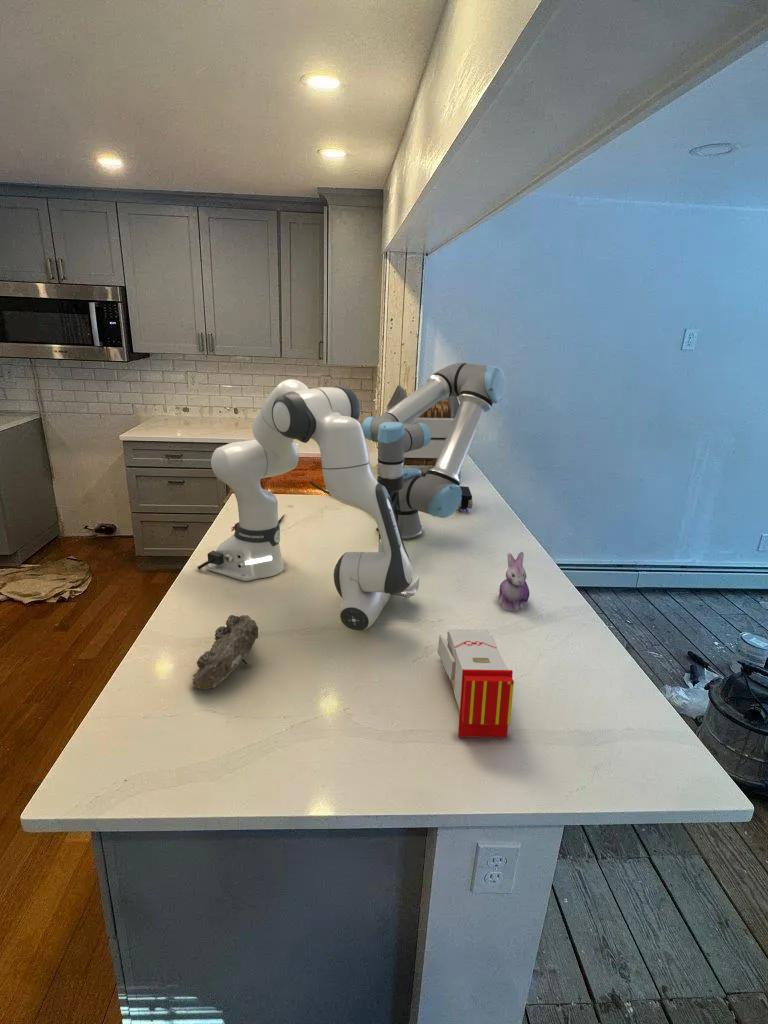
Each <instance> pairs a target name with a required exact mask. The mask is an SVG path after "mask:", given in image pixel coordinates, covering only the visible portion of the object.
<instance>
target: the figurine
mask: <svg viewBox="0 0 768 1024" xmlns="http://www.w3.org/2000/svg"><path fill="white" fill-rule="evenodd" d="M506 556H507V569H506V571H505V579H504V580H502V581H501V583H500V585H499V591H498V592H499V593H498V597H497V598H498V600H497V601H498V604H499V605H500V606H501V607H502V609H503V610H505V611H507V612H508V611H509V612H518V611H520V610H521V611H522V610H524V609H525V608H526V607H527V605H528V601H529V599H530V588H529V585H528V584H527V581H526V580H527V571H526V570H525V567H524V552H523V551H520V552H519V553H518V555H517V557H516V559H515V557H514V556H513V554H512V553H511V552H508V553H507V555H506Z"/></svg>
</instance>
